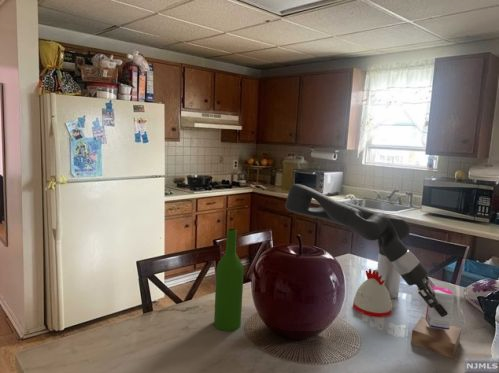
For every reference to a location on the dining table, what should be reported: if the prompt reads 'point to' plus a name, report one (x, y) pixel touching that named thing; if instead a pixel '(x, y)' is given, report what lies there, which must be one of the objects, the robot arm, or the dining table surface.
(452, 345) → the walnut block
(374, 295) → the kitchen timer
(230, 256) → the wine bottle
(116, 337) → the dining table surface
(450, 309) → the supplement box
